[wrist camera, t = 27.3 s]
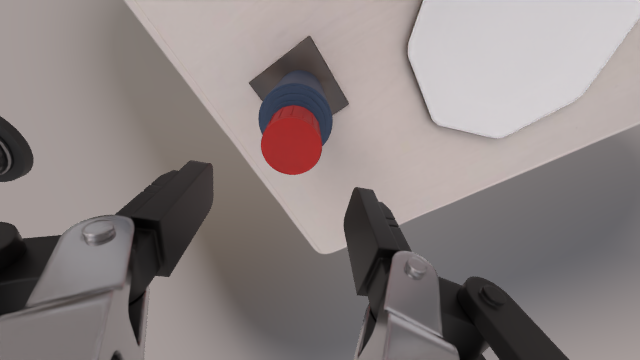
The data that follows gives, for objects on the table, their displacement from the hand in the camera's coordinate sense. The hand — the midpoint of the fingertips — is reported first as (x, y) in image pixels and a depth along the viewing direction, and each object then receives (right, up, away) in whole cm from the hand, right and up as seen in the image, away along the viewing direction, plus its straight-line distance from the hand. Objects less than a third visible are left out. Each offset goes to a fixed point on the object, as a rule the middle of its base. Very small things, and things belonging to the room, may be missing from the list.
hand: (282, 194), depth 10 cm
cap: (0, +4, +8) cm, 9 cm away
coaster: (-1, +13, +23) cm, 26 cm away
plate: (+27, +21, +20) cm, 40 cm away
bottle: (-1, +12, +22) cm, 26 cm away
